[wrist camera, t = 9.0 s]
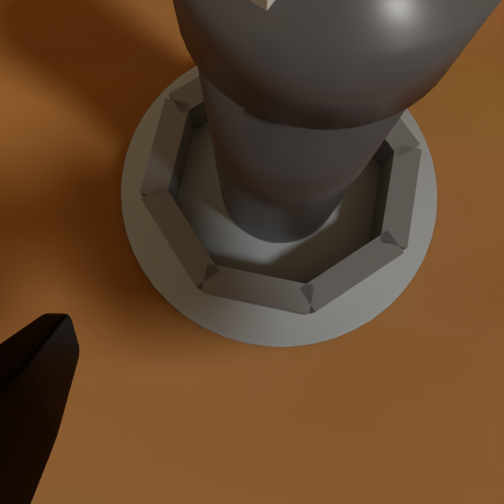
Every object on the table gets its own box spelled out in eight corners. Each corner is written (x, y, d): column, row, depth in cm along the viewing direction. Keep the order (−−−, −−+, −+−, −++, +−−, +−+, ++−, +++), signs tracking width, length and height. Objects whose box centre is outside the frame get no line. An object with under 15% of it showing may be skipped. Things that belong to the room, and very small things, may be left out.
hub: (408, 377, 17) (432, 384, 14) (88, 308, 17) (64, 305, 15) (448, 83, 19) (474, 51, 17) (167, 29, 19) (156, -10, 17)
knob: (297, 273, 17) (424, 119, 5) (191, 200, 17) (57, -108, 5) (366, 171, 17) (629, -184, 5) (263, 105, 18) (295, -353, 6)
